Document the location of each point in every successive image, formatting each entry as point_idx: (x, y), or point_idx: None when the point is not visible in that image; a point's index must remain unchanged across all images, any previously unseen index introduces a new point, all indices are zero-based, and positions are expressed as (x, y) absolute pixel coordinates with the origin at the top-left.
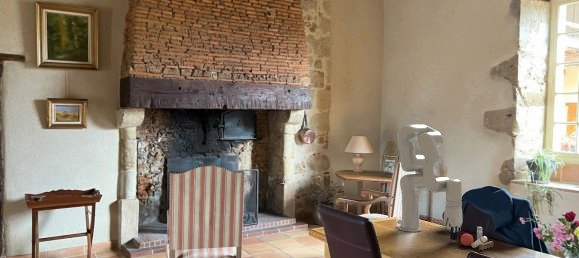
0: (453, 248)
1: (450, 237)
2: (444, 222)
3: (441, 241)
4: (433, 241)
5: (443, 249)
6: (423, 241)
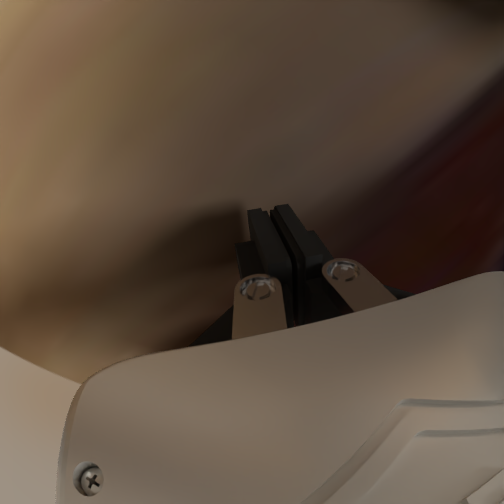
0: (114, 342)
1: (251, 221)
2: (68, 458)
3: (169, 128)
4: (85, 90)
5: (37, 326)
6: (6, 62)
